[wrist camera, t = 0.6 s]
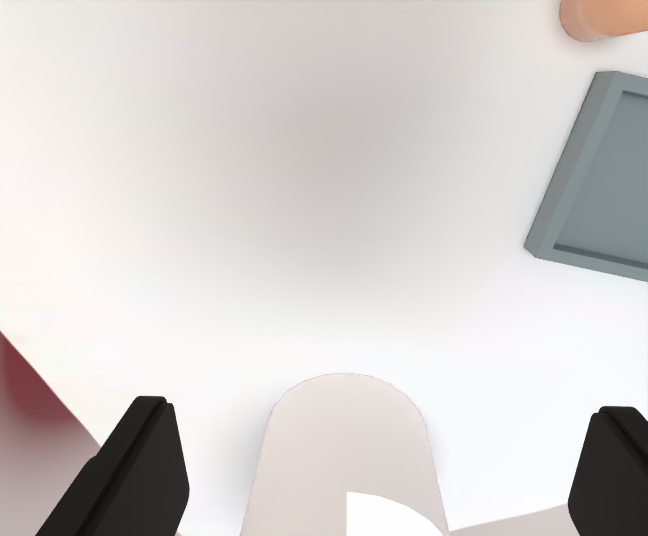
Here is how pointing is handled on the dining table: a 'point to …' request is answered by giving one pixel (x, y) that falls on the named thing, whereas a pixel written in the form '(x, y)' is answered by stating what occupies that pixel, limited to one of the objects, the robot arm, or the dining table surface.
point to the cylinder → (345, 464)
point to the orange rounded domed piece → (603, 18)
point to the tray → (601, 184)
